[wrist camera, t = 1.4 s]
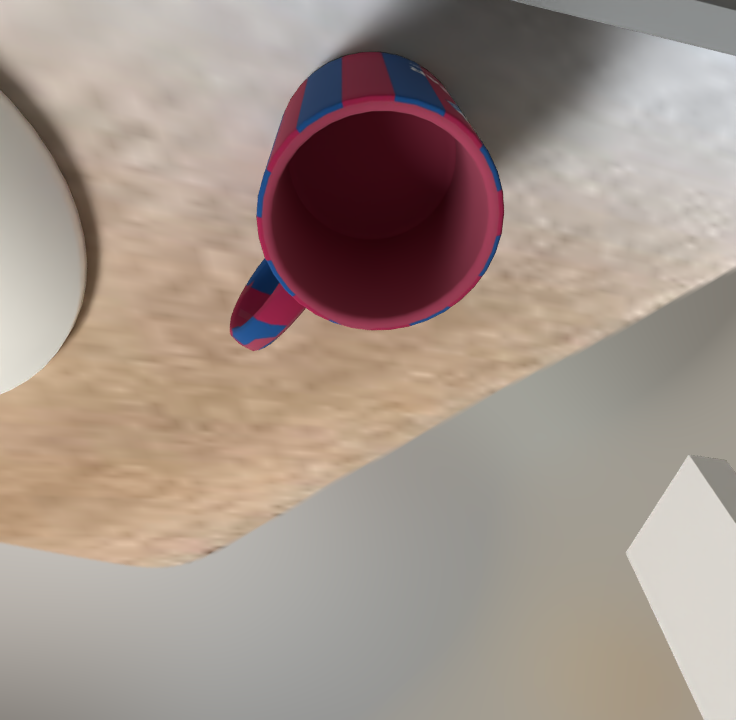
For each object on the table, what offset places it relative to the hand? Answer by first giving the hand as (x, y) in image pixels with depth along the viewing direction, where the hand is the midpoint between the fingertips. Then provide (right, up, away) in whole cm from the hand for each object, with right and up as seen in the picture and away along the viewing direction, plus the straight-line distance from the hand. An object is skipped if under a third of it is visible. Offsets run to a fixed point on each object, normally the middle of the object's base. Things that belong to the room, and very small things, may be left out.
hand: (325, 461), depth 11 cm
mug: (0, +8, +12) cm, 15 cm away
